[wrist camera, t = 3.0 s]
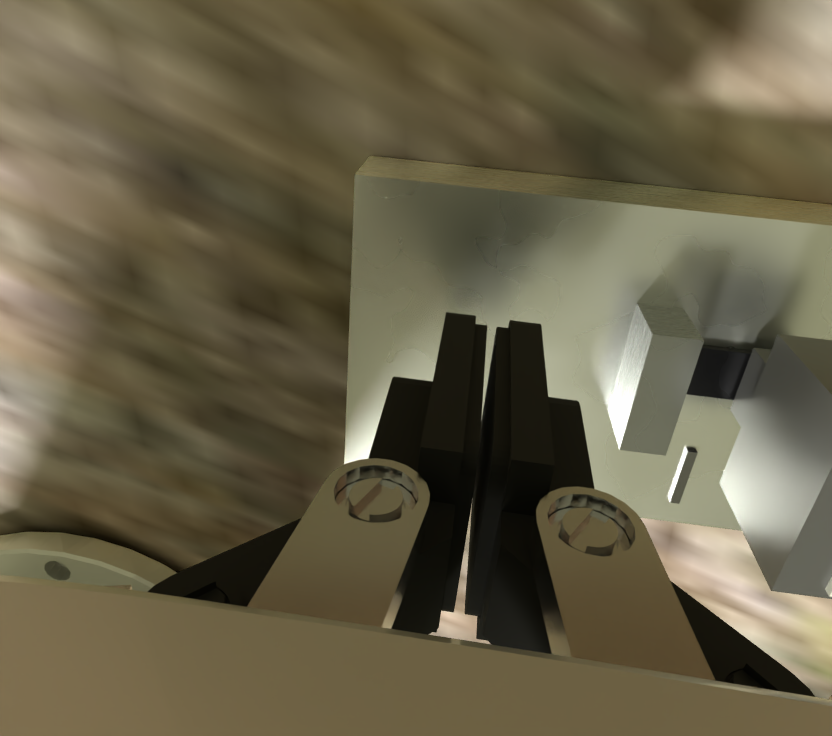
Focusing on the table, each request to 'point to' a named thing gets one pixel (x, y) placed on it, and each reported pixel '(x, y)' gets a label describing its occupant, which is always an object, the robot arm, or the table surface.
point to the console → (589, 306)
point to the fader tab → (785, 463)
